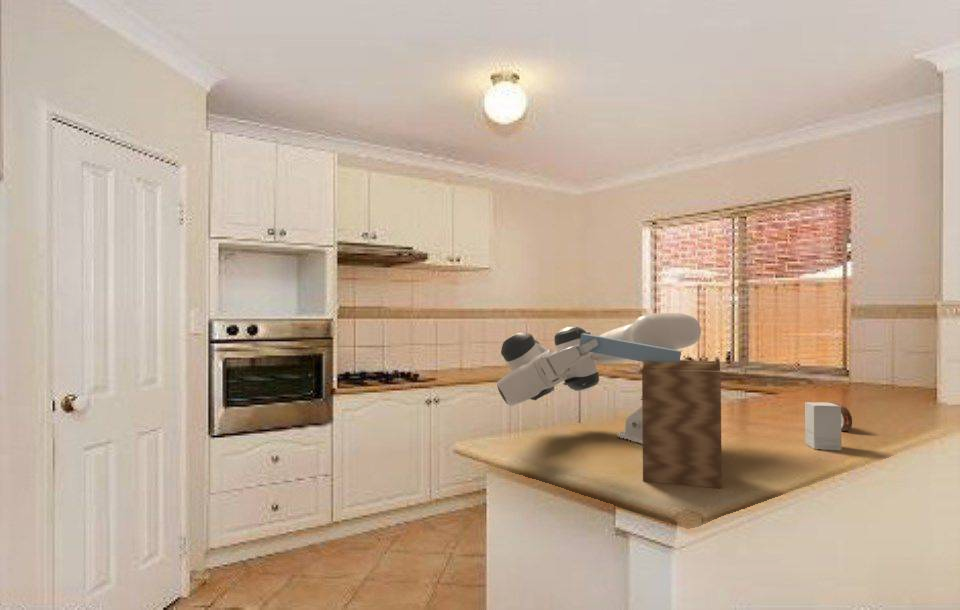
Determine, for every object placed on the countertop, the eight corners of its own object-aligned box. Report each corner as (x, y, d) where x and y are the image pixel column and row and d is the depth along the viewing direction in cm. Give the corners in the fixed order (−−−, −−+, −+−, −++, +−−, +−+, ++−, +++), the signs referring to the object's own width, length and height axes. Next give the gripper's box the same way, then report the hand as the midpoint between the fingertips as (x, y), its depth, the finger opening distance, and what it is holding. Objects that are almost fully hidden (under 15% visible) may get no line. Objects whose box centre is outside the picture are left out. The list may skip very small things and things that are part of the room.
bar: (578, 349, 145) (581, 333, 145) (581, 348, 149) (584, 333, 149) (678, 368, 137) (681, 352, 136) (678, 367, 140) (681, 350, 140)
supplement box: (842, 450, 163) (841, 406, 163) (813, 449, 165) (813, 405, 165) (832, 445, 170) (831, 402, 171) (804, 443, 172) (804, 401, 172)
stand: (642, 480, 135) (642, 358, 135) (647, 465, 148) (646, 354, 148) (721, 488, 129) (720, 360, 129) (719, 472, 142) (718, 356, 142)
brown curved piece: (853, 433, 187) (853, 407, 187) (843, 433, 187) (843, 407, 187) (826, 424, 202) (825, 400, 202) (816, 424, 202) (816, 400, 202)
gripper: (567, 373, 158) (611, 349, 154) (549, 382, 139) (599, 354, 135) (555, 353, 160) (599, 328, 155) (536, 359, 140) (585, 331, 136)
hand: (599, 340), depth 145 cm, fingers closed on bar, 4 cm apart
